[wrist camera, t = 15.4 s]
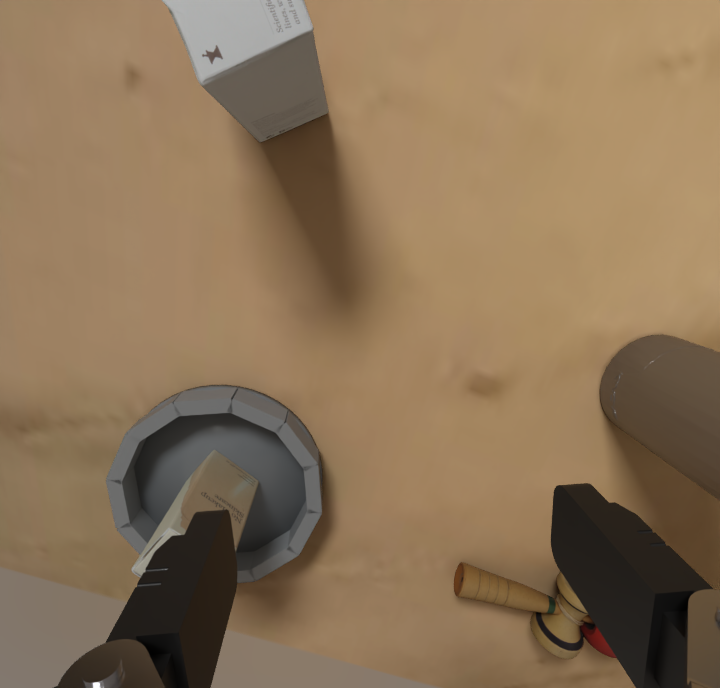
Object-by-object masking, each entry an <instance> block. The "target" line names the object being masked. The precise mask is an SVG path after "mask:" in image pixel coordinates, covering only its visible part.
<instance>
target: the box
mask: <svg viewBox="0 0 720 688" xmlns="http://www.w3.org/2000/svg"><path fill="white" fill-rule="evenodd" d="M258 485H259V481H258V480H257V479H255V478H254V477H253V476H251V475H250V474H248V473H247V472H246V471H244V470H243V469H242V468H240V467H239V466H237V465H236V464H235V463H233V462H232V461H230V460H229V459H228V458H226V457H225V456H223V455H222V454H220V453H219V452H218V451H216V450H213V451H212V452H211V453H210V454H209V455H208V456H207V458H206V459H205V460H204V461H203V462H202V463H201V464H200V465H199V467H198V468H197V469H196V470H195V471H194V472H193V474H192V475H191V476H190V477H189V478H188V480H187V481H186V482H185V484H184V486H183V487H182V489H181V491H180V492H179V494H178V495H177V497H176V499H175V500H174V502H173V504H172V505H171V507H170V509H169V510H168V512H167V513H166V515H165V517H164V518H163V520H162V521H161V523H160V524H159V526H158V528H157V529H156V531H155V532H154V534H153V536H152V537H151V539H150V541H149V542H148V544H147V545H146V547H145V549H144V550H143V552H142V553H141V555H140V557H139V558H138V560H137V561H136V563H135V564H134V566H133V567H132V572H133V573H134V574H136V575H137V576H139V577H140V578H141V576H142V574H143V572H145V569H146V567H147V565H148V563H149V561H150V560H151V558H152V556H153V554H154V552H155V551H156V550H157V549H158V548H159V547H160V546H161V545H162V544H163V543H165V542H166V541H167V540H168V539H169V538H170V537H171V536H174V535H184V534H185V532H186V530H187V528H188V526H189V524H190V522H191V520H192V517H193V515H194V514H195V513H196V512H200V511H214V510H228V511H229V513H230V516H231V523H232V530H233V538H234V545H235V552H236V550H237V547H238V544H239V541H240V538H241V535H242V532H243V529H244V526H245V523H246V520H247V517H248V514H249V511H250V508H251V505H252V502H253V499H254V496H255V493H256V490H257V487H258Z"/></svg>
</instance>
